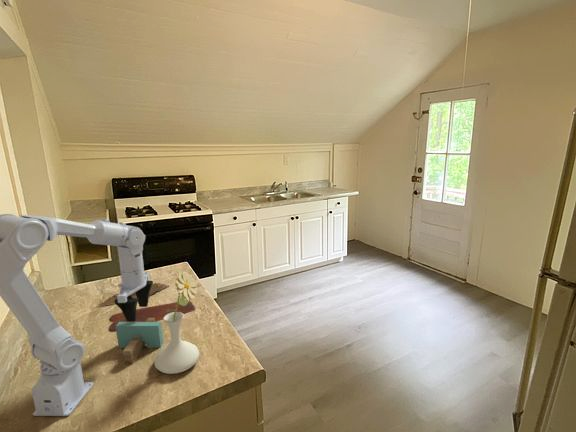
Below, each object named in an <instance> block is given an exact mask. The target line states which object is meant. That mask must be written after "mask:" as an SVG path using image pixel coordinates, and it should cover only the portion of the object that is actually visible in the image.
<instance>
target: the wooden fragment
mask: <svg viewBox="0 0 576 432" xmlns="http://www.w3.org/2000/svg"><path fill="white" fill-rule="evenodd" d="M167 287H170V285H169V284H164V283H161V282H153V285H152V287H151V290H150V293H149V297H150V296H152V295H154V294H156V293H157V292H160V291H162V290H163V289H165V288H167ZM118 295H119V293H116V294H113V295H112V296H110V297H108V298H107V299H106V300H104V301H103V302H101V303H99V304H97V306H96V307H95V308H101V307H106V306H109V305H116V304H115V299H116V298H117V296H118ZM131 297H133V298H137V296H136V293H135V292H134V293H133V294H131Z"/></svg>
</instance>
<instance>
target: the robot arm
mask: <svg viewBox="0 0 576 432" xmlns="http://www.w3.org/2000/svg"><path fill="white" fill-rule="evenodd" d="M57 236H68V237H77V238H86V239H87V240H88V241H89V242H90V243H91V244H92V245H102V246H111V247H117V253H118V262H119V269H120V270H119V271H120V278H121V282H119V284H118V285H117V287H119V288H120V290H119V293H118V294H119V295H118V296H117V298H116V299H115V304H114V305H116V306H117V307H118V308H119V309H120V311H121V313H122V312H123V314H124V316H125V318H126V320H127V322H134V321H135V320H136V309H137V305H138V306H139V308H140V307H141V308H146V307H148V305H149V298H150V296H149V293H150V290H151V287H152V285H153V284H154V281H153V280H149V279H150V273H149V272H145V267H144V259H143V257H144V256H143V251H144V243H145V242H146V234H144V232H143V230H142V229H141V228H140V227H138V226H133V225H127V224H126V223H125V222H119V223H117V222H110V219H107V218H100V220H99V219H98V220H94V221H92V222H91V223H89V224H88V223H84V222H79V221H78V222H77V221H73V220H67V219H62V218H56V217H50V216H46V215H29V214H19V216H17V215H15V214H13V213H12V214H11V213H2V214H0V297H1V299H2V301H3V302H4V303H5V305H6V306H7V307H8V308H9V310H10V312H11V313H12V314H13V315H14V317H15V318H16V319H17V321H18V322H19V323H20V325H21V326H22V328H23V329H24V331H25V332H26V333H27V335H29V337H28V338H27V341H28V342H29V344H30V353H31V355H32V357H33V358H34V359H36V360H39V363H40V375H39V377H38V380H37V382H36V383H35V384H34V385H33V387H32V389H31V396H32V399H33V405H34V408H35V410H34V412H32V415H33V416H34V417H35V416H36V417H43V416H44V417H45V416H49V417H50V416H51V417H68V416H70V415H71V414H72V413H73V411H74V410H75V409H76V407H77V406H78V405H79V403H80V402H81V401H82V400H83V399H84V397H85V396H86V394H87V393H88V392H89V391H90V389H91V388H92V387H93V386H94V382H93V381H85V380H84V374H83V369H82V365H81V364H82V363H81V361H82V359H83V358H84V354H85V345H84V344H83V343H82V341H80V340H76V339H75V338H73V336H72V335H71V334H70V333H69V332H68V331H67V330H65V328H63V327H62V326H61V325H60V324H59V322H58V321H57V319H56V318H55V316H54V314H53V313H52V311H51V310H50V308H49V307H48V305H47V304H46V302H45V300H44V299H43V298H42V296H41V295H40V293H39V291H38V290H37V289H36V287H35V286H34V284H33V282H32V281H31V280H30V278H29V277H28V275H27V273H26V272H25V271H24V268H25V266H26V265H27V264H28V262H30V260H31V259H32V258H33V257H34V256H35V254H37V253H38V252H39V251H40V250H41V248H43V246H44V245H45V244H46V242H47V241H49V242H52V241H54V239H55V238H56V237H57ZM134 292H135V293H136V296H137V298H133V297H131V294H133V293H134Z"/></svg>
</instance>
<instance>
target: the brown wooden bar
mask: <svg viewBox="0 0 576 432" xmlns="http://www.w3.org/2000/svg"><path fill="white" fill-rule="evenodd" d="M146 322H156V321H155V318H148V319H147V320H146ZM145 346H146V341H141V337H133V339H132V340H131V341H130V343H129V344H128V345H127V347H126V348H124V349H123V350H122V355H123V362H124V365H133V364H134V363H135V361H136V360H137V358H138V357H139V355H140V353H141V352H142V351H143V349H144V348H145Z"/></svg>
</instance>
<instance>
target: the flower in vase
mask: <svg viewBox="0 0 576 432" xmlns="http://www.w3.org/2000/svg"><path fill="white" fill-rule="evenodd" d="M197 286H198V284H197V282H196V280H195V279H194V277H193V276H192V274H189V273H188V272H187V271H182V272H178V274H177V275H176V278H175V287H176V289H175V290H176V291H177V292H178V293H177V294H178V296H177V301H176V302H177V305H176V309H172V310H169V309H167V312H168V311H175V312H172V313H169V314H167V315H166V316H165V317H164V318H163V319H162V320H163V322H165V323H166V325H167V327H168V328H169V332H170V342H169V343H168V344H167V345H165V346H164V347H163V348H161V349H160V350H159V351H158V353H157V354H156V356H155V359H154V366H155V368H156V369H157V370H158V371H159V372H161V373H163V374H169V375H171V374H172V375H174V374H180V373H182V372H185V371H187V370H189V369H191V368H192V367H193V366H194V365H196V363H197V362H198V360H199V359H200V355H201V354H200V353H201V352H200V350H199V348H198V347H197V346H196V345H195V344H194V343H193V342H192V343H191V342H189V341H185V340H182V338H181V331H180V330H181V322H182V320H183V319H184V317H185V313H184V314H183V313H181V312H176V310H178V309H177V306H178V303H179V304H180V305H182V306H186V305H187V304H188V302H189V301H190V302H191V301H193V300H196V299H195V298H196V295H198V288H197Z"/></svg>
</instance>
